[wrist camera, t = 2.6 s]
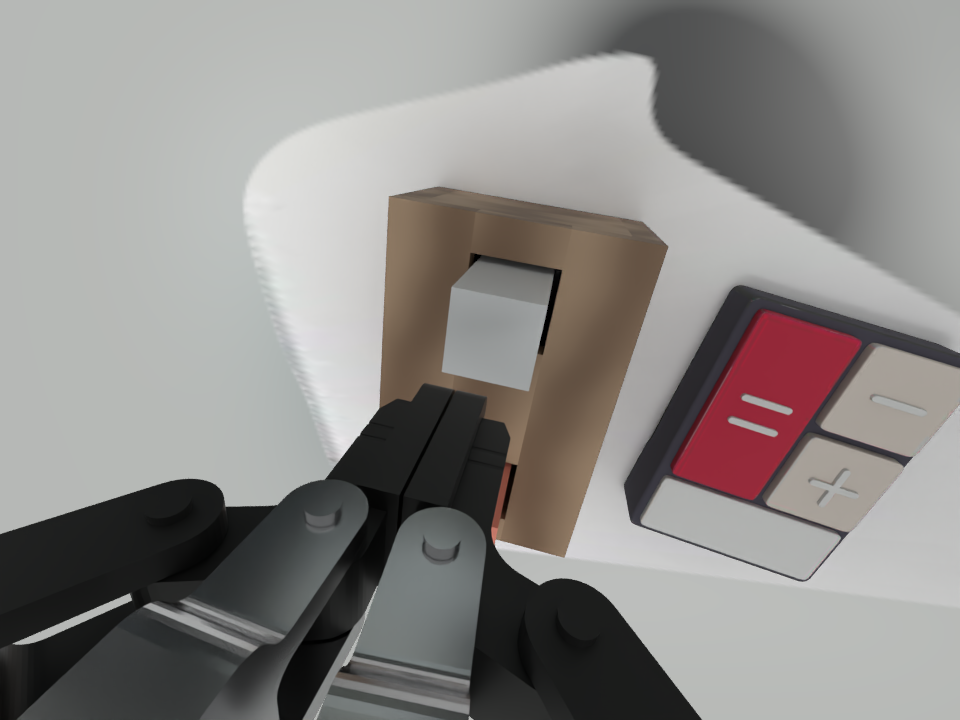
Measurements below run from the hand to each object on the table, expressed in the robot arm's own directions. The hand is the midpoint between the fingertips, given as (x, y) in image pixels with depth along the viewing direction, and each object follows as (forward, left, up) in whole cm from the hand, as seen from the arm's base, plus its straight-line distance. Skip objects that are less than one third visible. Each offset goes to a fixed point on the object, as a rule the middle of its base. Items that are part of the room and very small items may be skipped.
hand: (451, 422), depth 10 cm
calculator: (-16, +7, -17) cm, 24 cm away
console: (0, +5, -16) cm, 17 cm away
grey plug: (0, 0, -12) cm, 12 cm away
